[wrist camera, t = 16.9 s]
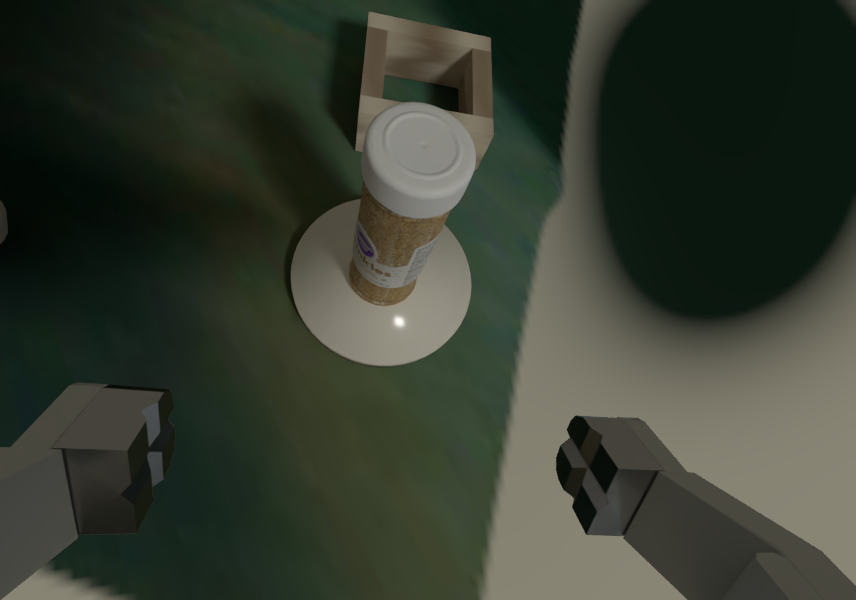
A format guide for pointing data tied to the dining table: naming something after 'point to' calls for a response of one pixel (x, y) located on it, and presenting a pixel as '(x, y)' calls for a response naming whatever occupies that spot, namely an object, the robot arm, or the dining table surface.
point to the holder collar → (428, 72)
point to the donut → (3, 222)
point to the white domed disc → (367, 323)
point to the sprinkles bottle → (406, 196)
